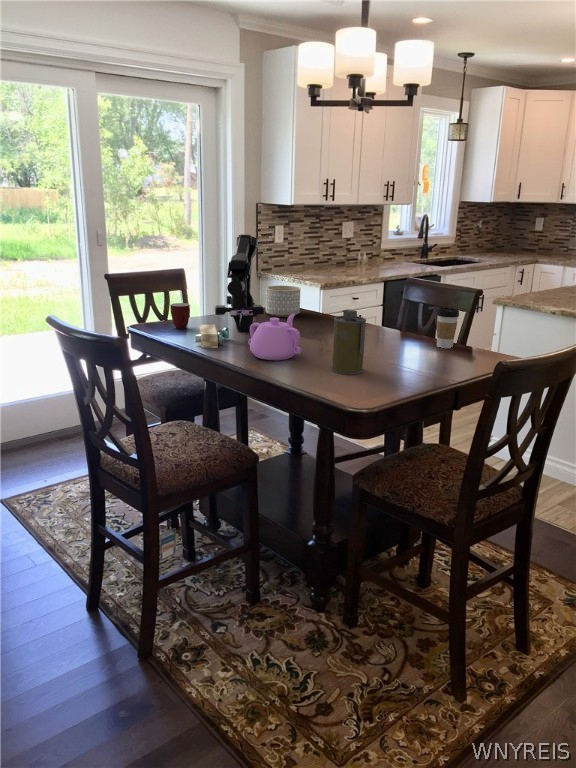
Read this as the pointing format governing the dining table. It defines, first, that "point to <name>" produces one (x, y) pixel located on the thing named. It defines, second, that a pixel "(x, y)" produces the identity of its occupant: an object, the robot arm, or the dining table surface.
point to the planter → (282, 300)
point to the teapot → (274, 339)
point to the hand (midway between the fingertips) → (239, 331)
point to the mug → (180, 314)
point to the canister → (348, 343)
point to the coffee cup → (446, 326)
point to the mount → (208, 336)
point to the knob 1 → (198, 338)
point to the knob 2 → (224, 333)
